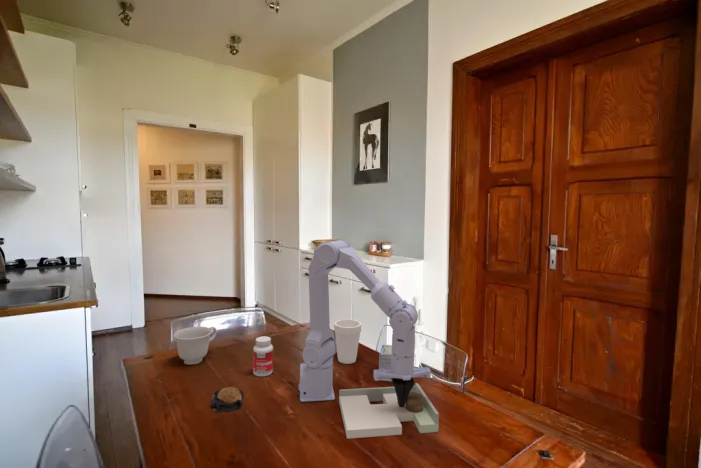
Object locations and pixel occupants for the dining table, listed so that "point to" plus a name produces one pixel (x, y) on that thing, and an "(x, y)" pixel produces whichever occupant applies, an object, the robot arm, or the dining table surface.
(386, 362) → the medicine box
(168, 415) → the dining table surface
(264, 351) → the pill bottle
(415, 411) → the brown wooden cylinder
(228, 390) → the tan black low dome
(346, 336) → the foam cup
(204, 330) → the teacup
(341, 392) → the box
